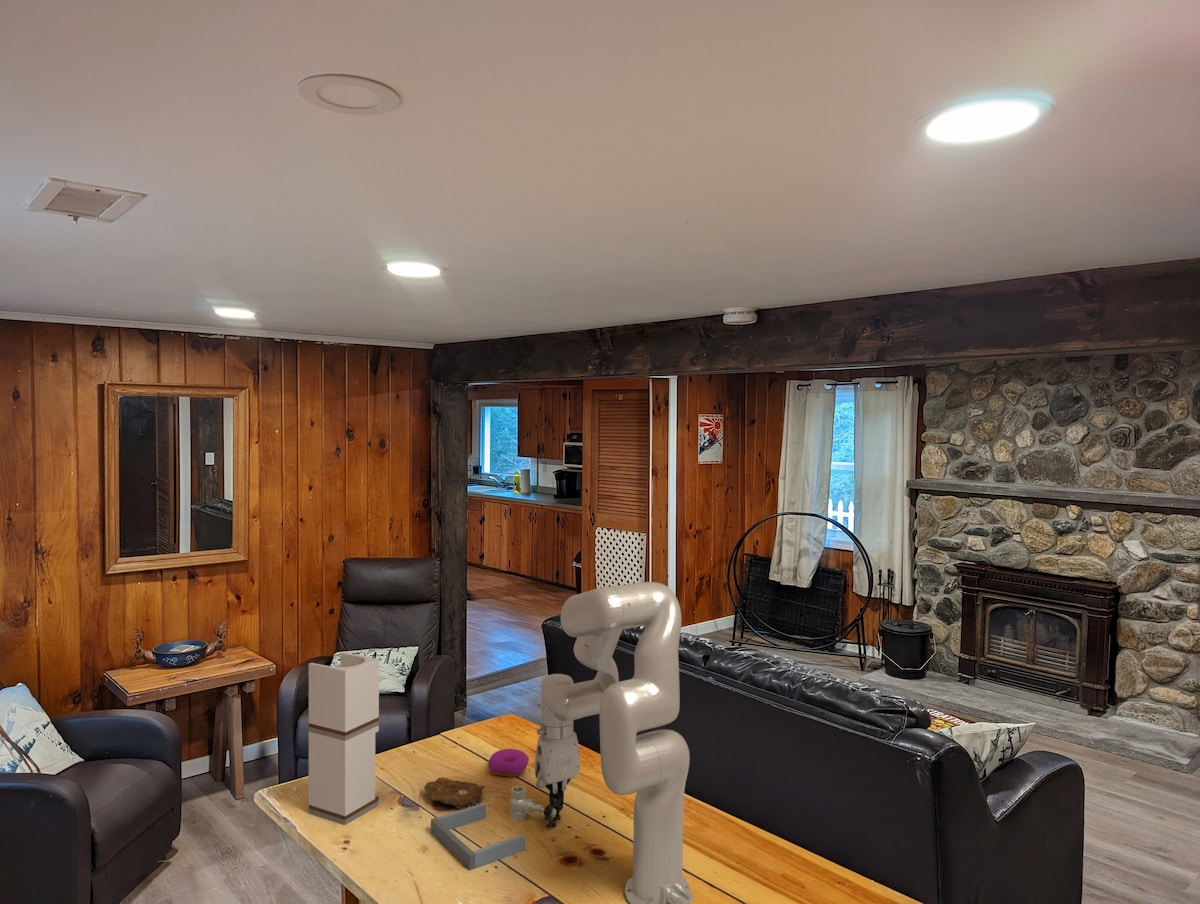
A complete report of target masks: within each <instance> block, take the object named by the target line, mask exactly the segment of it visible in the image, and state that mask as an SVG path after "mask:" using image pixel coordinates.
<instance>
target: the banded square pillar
mask: <svg viewBox="0 0 1200 904" xmlns="http://www.w3.org/2000/svg"><path fill="white" fill-rule="evenodd" d="M339 663H340V666H339V667H337V666H330V665H326V664H325V665H324V664H320V663H314V662H310V663H308V814H309V815H313V816H315V817H319V818H322V819H325V820H328V821H331V822H333V823H338V824H340V825H344V826H347V824H349V823H352V822H353V821H355V820H356V819H358V818H359V817H360V818H361V817H362V816H364V815H365V814H366V813H369V811H371V810H373V809H375V808H377V807H378V806H379V801H380V800H379V799H380V797H379V796H376V733H378V732H379V730H380V725H379V724H380V723H379V722H380V718H379V717H380V714H379V713H380V709H379V707H380V705H379V704H380V703H379V702H380V699H379V698H380V658H375V657H372V656H371V657H370V656H364V655H360V654H354V653H348V652H341V653H340V661H339Z"/></svg>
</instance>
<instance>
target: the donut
mask: <svg viewBox="0 0 1200 904" xmlns="http://www.w3.org/2000/svg"><path fill="white" fill-rule="evenodd" d="M529 761H530V758H529V756H528V755H527V754H526V753H525V752H524V751H521V750H520V749H516V748H505V749H499V750H498V751H495V752H493V753H492V755H491V756H490V758H489V760H488V763H487V767H488V770H489V771H490V773H491V774H492V775H493V776H497V777H498V776H500V777H508V778H509V777H510V778H516V777H518V776H520V775H521V774H523V773H524V772H525V770H526V769H527V766H528V764H529Z"/></svg>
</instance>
